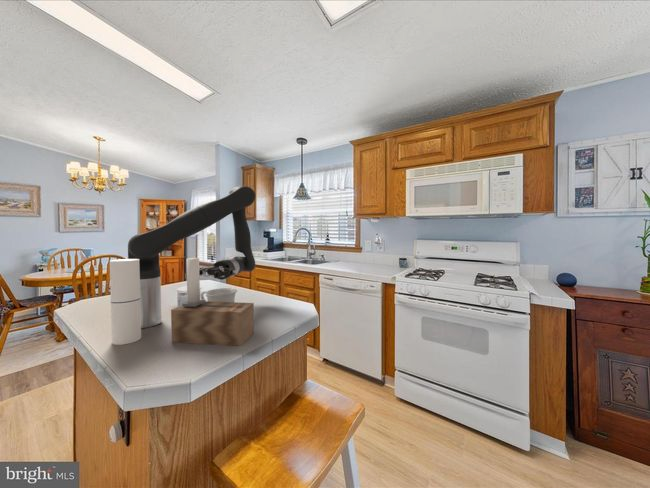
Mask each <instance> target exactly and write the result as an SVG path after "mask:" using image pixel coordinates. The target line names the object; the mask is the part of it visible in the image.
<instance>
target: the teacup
mask: <svg viewBox="0 0 650 488" xmlns="http://www.w3.org/2000/svg"><path fill="white" fill-rule="evenodd" d="M237 292H238V290H237V289H236V288H232V287H231V288H229V287H226V288H215V289H209V290H207V291H206V290H203V291H202V292H200V300H205V301H206V302H235V298H236V293H237ZM204 295H205V296H206V298H205V296H204Z"/></svg>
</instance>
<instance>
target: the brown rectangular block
mask: <svg viewBox="0 0 650 488" xmlns="http://www.w3.org/2000/svg"><path fill="white" fill-rule="evenodd" d="M254 308H255V307H254V302H235V301H234V302H206V301H205V303H202V304H200V305H198V306H196V307H188V306H182V304H181V305H180V306H176V307H173V308H171V309H170V316H171V317H170V318H171V319H170V320H171V321H170V322H171V326H170V327H171V343H182V344H183V343H185V344H198V345H199V344H204V345H221V346H242V345H243V344H244V343H245V342H246V341H247V340H248V339H249V338H250V337H251V336H252V335H253V334H254V331H255V328H254V327H255V324H254V322H255V321H254V319H255V317H254V315H255V311H254Z"/></svg>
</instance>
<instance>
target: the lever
mask: <svg viewBox="0 0 650 488" xmlns="http://www.w3.org/2000/svg"><path fill="white" fill-rule="evenodd" d="M199 268H200V258H199V257H192V258H191V257H190V258H189V257H188V258H186V297H187V298H186V301H185V302H182V303H181V305H182V306H188V307H196V306H198V305H200V304H202V303H205V300H201V290H200V288H201V287H200V285H201V284H200V281H201V280H200V277H201V276H199Z"/></svg>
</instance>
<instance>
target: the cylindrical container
mask: <svg viewBox="0 0 650 488" xmlns="http://www.w3.org/2000/svg"><path fill="white" fill-rule="evenodd" d="M109 287H110V288H109V289H110V314H111V315H110V319H111V344H112V345H114V346H121V345H127V344H131V343H135V342H137V341H140V340H141V339H142V328H141V305H140V267H139V259H128V258H125V259H124V258H121V259H111V260H109Z"/></svg>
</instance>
